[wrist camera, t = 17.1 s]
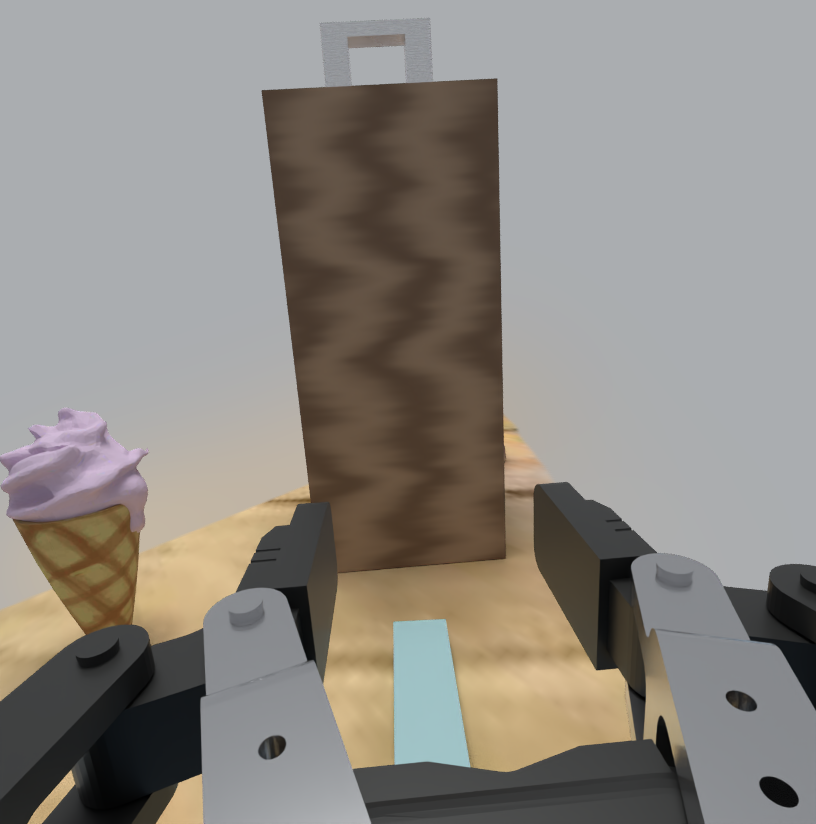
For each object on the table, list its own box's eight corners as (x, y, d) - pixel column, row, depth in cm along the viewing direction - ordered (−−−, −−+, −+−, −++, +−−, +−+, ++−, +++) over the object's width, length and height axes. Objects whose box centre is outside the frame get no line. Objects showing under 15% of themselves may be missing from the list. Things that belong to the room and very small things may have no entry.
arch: (327, 101, 31) (319, 22, 30) (329, 109, 33) (322, 35, 32) (433, 95, 32) (429, 17, 31) (431, 104, 33) (427, 30, 32)
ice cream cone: (183, 607, 34) (141, 393, 30) (182, 667, 28) (130, 413, 25) (69, 638, 32) (8, 409, 28) (43, 710, 26) (-37, 436, 22)
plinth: (319, 574, 37) (261, 90, 29) (334, 506, 49) (295, 147, 41) (505, 558, 37) (497, 78, 30) (476, 494, 49) (464, 138, 41)
